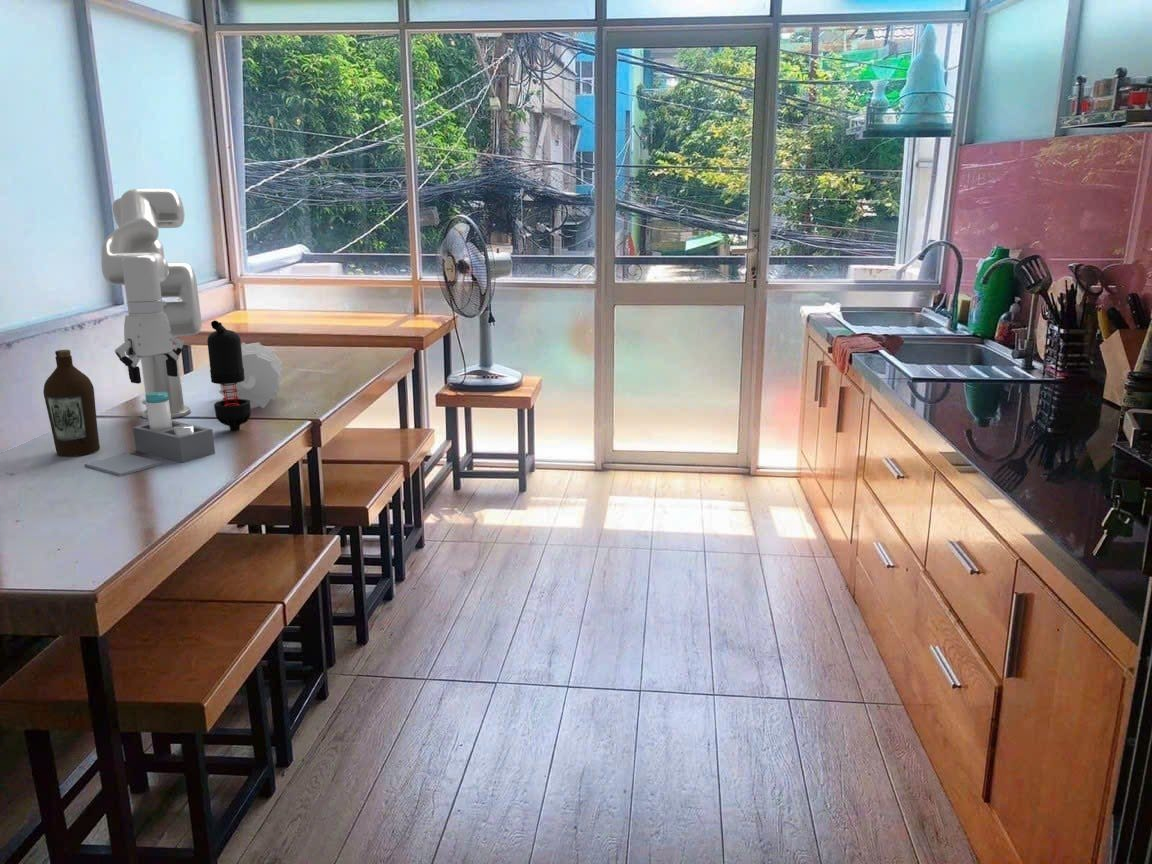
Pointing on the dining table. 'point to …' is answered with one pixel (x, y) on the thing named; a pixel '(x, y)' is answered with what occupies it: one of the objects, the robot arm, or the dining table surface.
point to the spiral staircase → (257, 375)
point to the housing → (174, 442)
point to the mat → (122, 464)
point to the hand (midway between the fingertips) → (154, 379)
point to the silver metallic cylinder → (183, 430)
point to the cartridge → (158, 410)
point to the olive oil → (71, 408)
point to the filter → (227, 375)
